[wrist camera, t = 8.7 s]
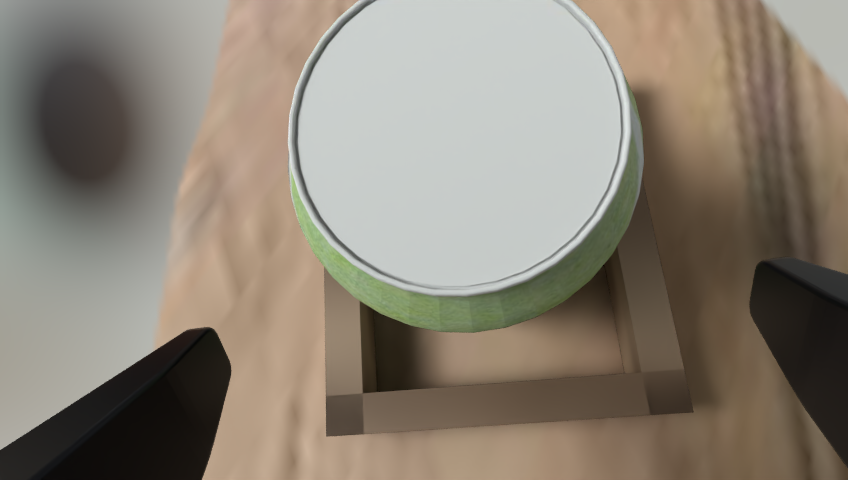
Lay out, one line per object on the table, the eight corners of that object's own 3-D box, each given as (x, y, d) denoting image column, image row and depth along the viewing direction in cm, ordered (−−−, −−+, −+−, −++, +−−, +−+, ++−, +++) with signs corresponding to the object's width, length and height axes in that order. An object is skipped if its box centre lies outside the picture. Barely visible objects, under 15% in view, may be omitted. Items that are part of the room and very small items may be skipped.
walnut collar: (670, 408, 16) (693, 412, 14) (345, 430, 17) (326, 436, 15) (604, 92, 19) (616, 60, 18) (337, 129, 21) (321, 103, 19)
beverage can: (531, 151, 19) (586, -192, 8) (590, 336, 17) (790, 239, 6) (377, 191, 20) (213, -78, 8) (415, 377, 17) (262, 365, 6)
